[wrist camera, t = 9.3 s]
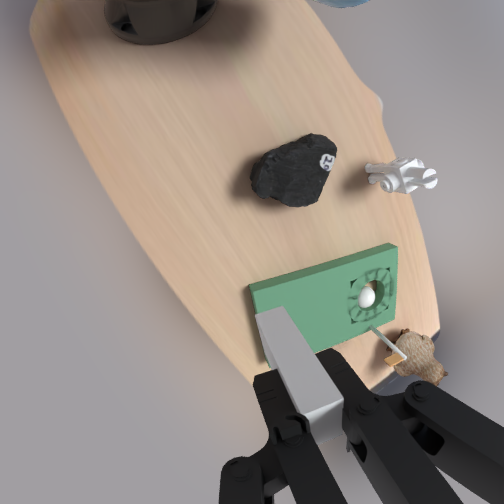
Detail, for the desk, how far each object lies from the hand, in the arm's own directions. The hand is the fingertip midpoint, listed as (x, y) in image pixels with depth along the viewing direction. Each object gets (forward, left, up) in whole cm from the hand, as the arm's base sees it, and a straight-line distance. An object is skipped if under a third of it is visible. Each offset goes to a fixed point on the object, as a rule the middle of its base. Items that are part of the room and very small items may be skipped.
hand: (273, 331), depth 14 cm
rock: (-6, +10, -23) cm, 26 cm away
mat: (+15, +14, -23) cm, 31 cm away
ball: (+15, +20, -21) cm, 33 cm away
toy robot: (-4, +24, -23) cm, 34 cm away
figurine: (+30, +29, -23) cm, 48 cm away
